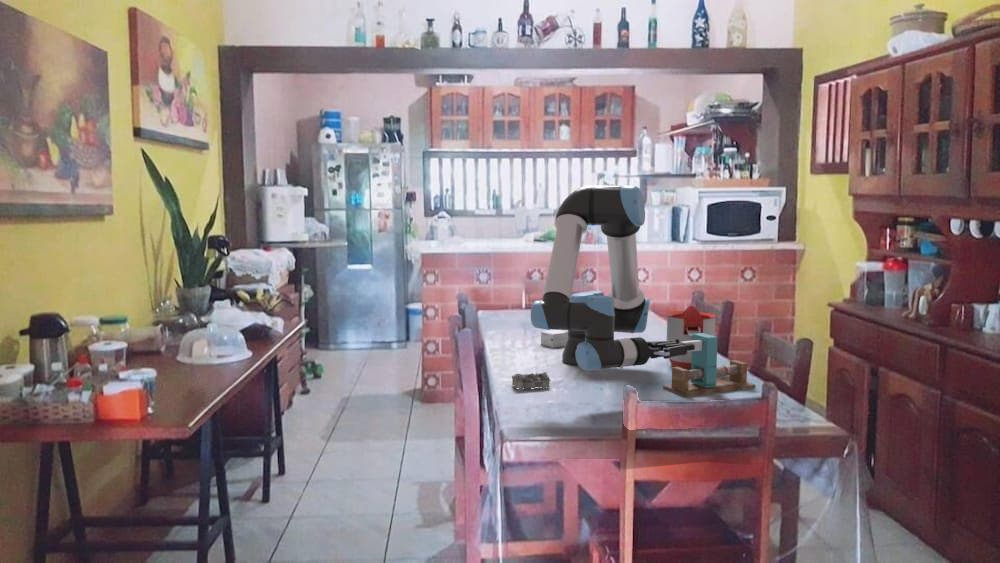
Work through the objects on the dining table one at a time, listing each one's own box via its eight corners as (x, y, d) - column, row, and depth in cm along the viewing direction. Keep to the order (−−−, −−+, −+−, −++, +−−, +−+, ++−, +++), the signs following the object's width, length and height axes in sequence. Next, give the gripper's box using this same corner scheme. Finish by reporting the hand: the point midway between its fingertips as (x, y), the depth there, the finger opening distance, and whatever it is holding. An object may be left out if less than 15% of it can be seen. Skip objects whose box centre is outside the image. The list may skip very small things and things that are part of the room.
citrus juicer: (667, 372, 236) (669, 309, 234) (663, 360, 253) (664, 301, 251) (718, 373, 234) (720, 310, 232) (710, 361, 251) (712, 302, 249)
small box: (540, 344, 281) (540, 330, 280) (557, 342, 285) (557, 329, 284) (552, 348, 274) (552, 334, 274) (569, 345, 278) (570, 332, 278)
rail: (685, 396, 207) (686, 373, 206) (663, 388, 216) (663, 365, 215) (755, 387, 217) (756, 364, 217) (731, 379, 226) (732, 358, 226)
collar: (706, 387, 212) (707, 337, 210) (690, 382, 218) (692, 333, 216) (715, 386, 213) (717, 336, 212) (700, 381, 219) (702, 333, 218)
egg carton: (513, 391, 214) (513, 377, 213) (511, 384, 221) (511, 371, 221) (551, 390, 215) (551, 376, 214) (547, 383, 222) (547, 370, 222)
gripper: (616, 360, 210) (685, 353, 219) (644, 370, 198) (715, 362, 207) (617, 334, 209) (686, 328, 218) (644, 342, 197) (716, 335, 207)
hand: (700, 345), depth 213 cm, fingers closed
